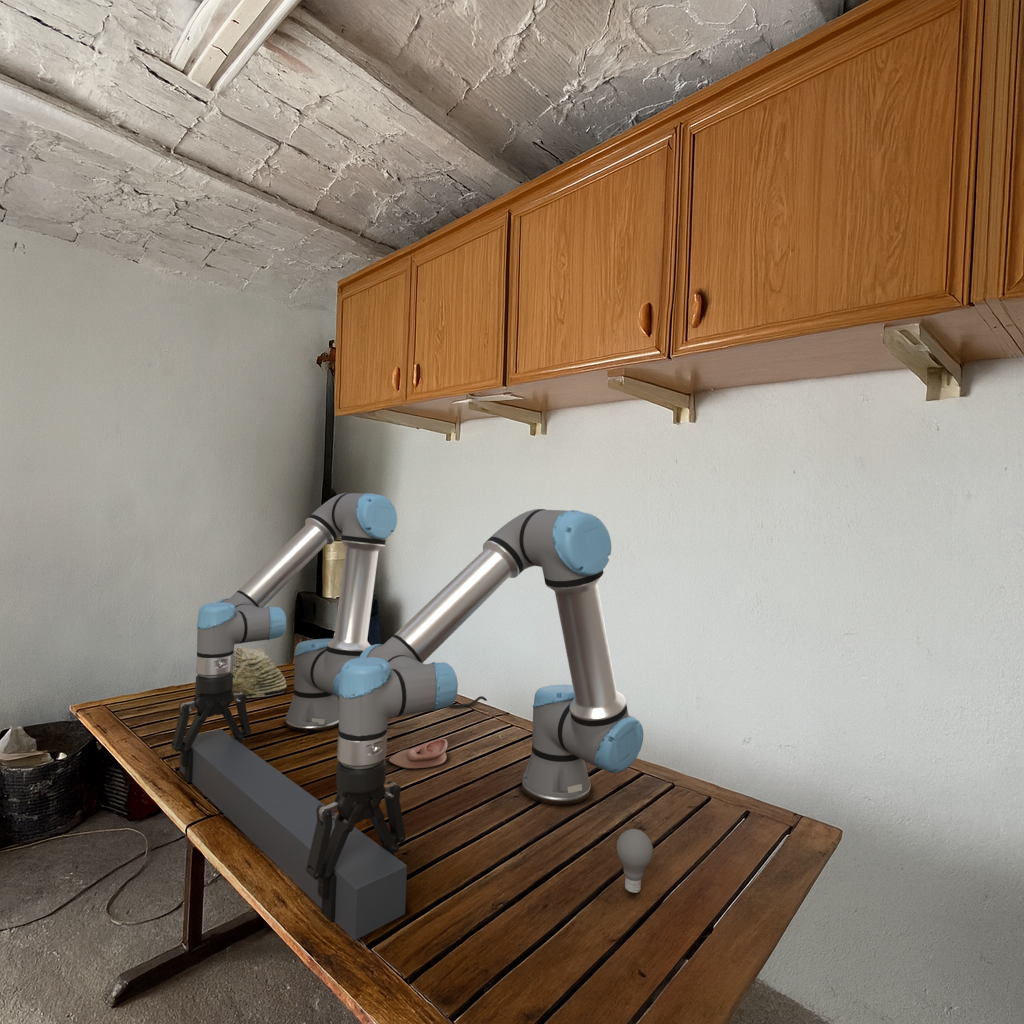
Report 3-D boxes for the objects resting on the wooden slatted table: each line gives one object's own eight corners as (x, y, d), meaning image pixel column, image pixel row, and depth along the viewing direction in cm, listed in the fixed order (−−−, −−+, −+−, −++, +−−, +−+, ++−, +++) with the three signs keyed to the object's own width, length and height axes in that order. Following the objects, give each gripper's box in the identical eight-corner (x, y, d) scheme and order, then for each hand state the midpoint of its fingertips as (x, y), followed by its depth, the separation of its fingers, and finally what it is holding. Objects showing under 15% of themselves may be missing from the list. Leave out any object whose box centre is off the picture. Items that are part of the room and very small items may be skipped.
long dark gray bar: (179, 770, 143) (180, 737, 143) (219, 760, 149) (221, 728, 149) (354, 941, 91) (356, 888, 91) (405, 914, 97) (407, 865, 97)
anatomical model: (384, 748, 150) (402, 731, 161) (383, 765, 150) (401, 747, 161) (437, 755, 147) (452, 738, 159) (437, 772, 148) (451, 753, 159)
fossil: (218, 695, 195) (220, 647, 195) (278, 685, 208) (279, 640, 207) (228, 703, 189) (230, 653, 188) (289, 692, 201) (290, 645, 201)
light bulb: (610, 879, 108) (613, 822, 108) (644, 879, 109) (647, 822, 109) (619, 902, 102) (622, 840, 102) (655, 901, 103) (658, 840, 103)
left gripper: (167, 686, 131) (163, 794, 131) (269, 669, 146) (266, 765, 147) (155, 677, 136) (152, 781, 136) (255, 662, 151) (252, 755, 152)
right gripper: (308, 788, 88) (302, 947, 89) (431, 749, 104) (426, 885, 104) (284, 770, 94) (278, 921, 94) (404, 736, 109) (399, 865, 109)
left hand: (211, 773), depth 141 cm, fingers closed on long dark gray bar, 9 cm apart
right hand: (356, 902), depth 99 cm, fingers closed on long dark gray bar, 9 cm apart
